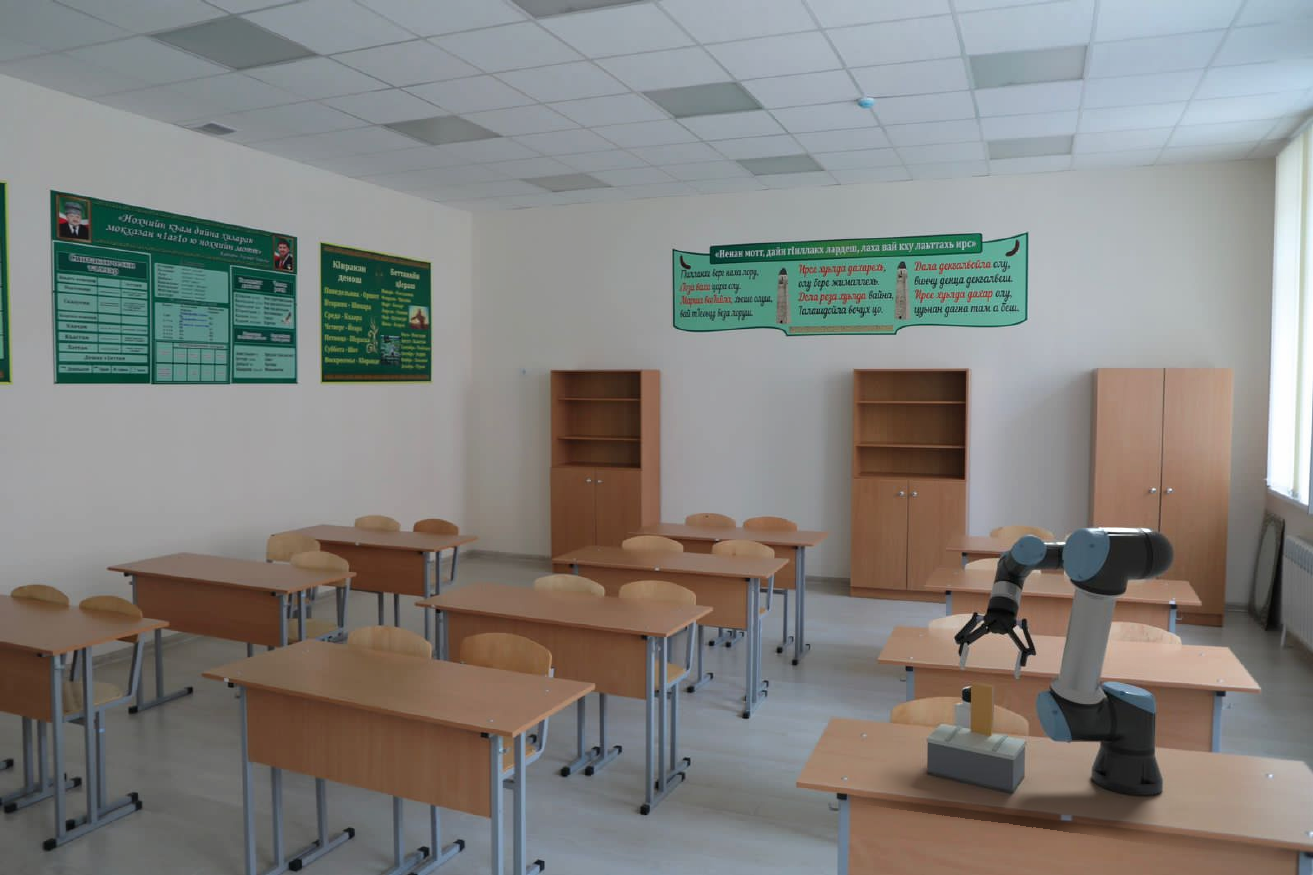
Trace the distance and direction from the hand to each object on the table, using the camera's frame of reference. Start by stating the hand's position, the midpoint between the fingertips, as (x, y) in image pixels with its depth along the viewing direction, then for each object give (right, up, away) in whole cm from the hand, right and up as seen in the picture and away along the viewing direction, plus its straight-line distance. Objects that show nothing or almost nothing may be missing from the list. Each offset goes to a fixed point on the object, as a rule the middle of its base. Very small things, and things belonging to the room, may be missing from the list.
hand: (988, 671), depth 233 cm
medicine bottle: (+3, -22, +20) cm, 30 cm away
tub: (-7, -22, -11) cm, 26 cm away
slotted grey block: (-7, -15, -11) cm, 19 cm away
